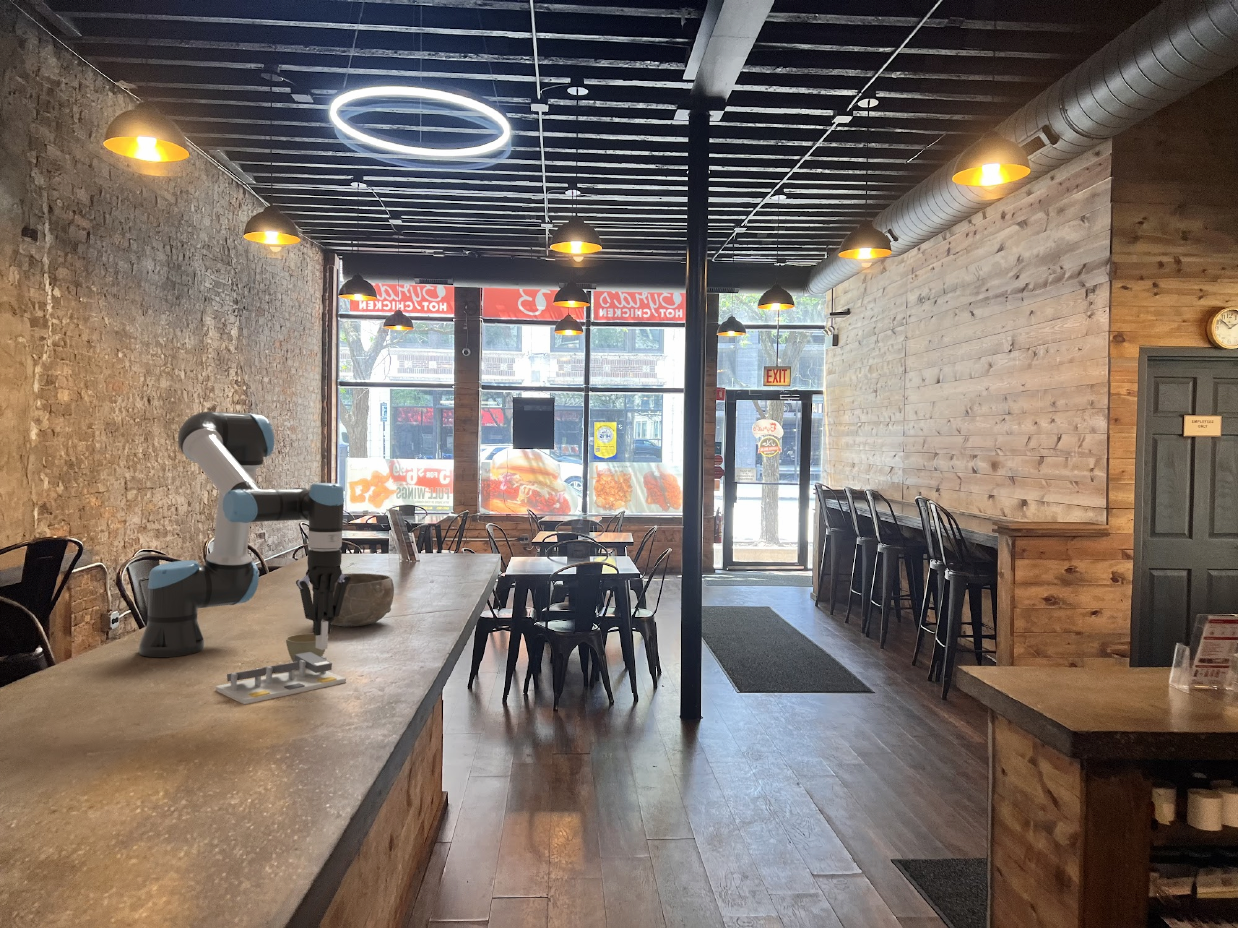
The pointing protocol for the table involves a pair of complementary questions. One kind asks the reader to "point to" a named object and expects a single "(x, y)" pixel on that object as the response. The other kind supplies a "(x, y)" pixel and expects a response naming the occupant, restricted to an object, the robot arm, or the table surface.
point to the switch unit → (278, 684)
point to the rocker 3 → (314, 662)
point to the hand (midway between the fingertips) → (321, 647)
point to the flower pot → (302, 645)
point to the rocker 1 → (248, 674)
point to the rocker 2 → (284, 667)
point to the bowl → (365, 599)
